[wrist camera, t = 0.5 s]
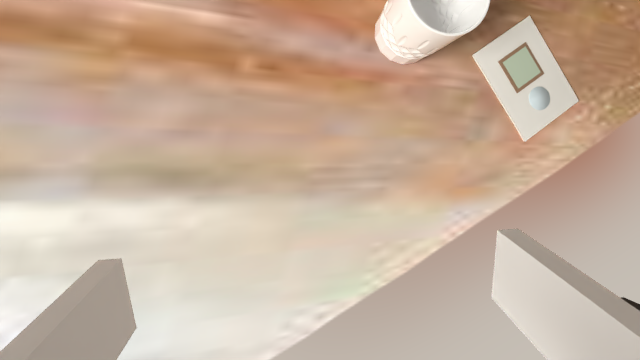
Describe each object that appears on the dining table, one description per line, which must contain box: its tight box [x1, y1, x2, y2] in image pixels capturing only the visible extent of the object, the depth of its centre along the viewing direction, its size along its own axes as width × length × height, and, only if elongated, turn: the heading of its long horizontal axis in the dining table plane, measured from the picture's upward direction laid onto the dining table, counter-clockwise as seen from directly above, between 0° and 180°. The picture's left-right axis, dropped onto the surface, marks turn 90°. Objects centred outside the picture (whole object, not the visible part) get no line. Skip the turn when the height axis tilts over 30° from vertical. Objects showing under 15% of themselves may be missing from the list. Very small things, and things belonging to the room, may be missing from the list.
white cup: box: [375, 0, 490, 65], centre depth 36 cm, size 8×8×10 cm
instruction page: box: [472, 16, 579, 142], centre depth 44 cm, size 12×9×1 cm
